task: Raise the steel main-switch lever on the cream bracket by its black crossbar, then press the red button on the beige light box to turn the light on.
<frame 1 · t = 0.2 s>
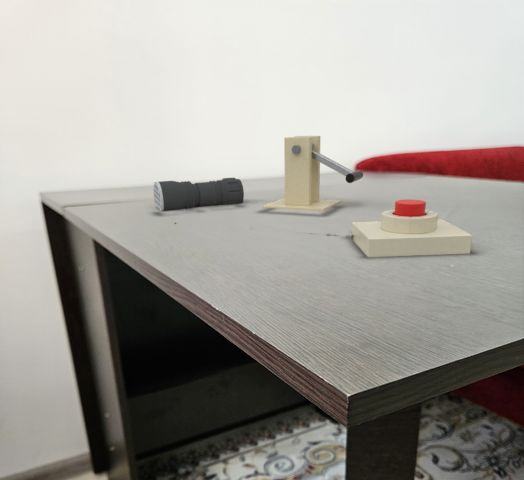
light box: (406, 245, 65), on the table
flashlight: (199, 211, 93), on the table
light button: (409, 209, 63), point 5 cm above the table, slide at 0.1 cm
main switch: (326, 161, 85), point 8 cm above the table, hinge at -25.0°
switch bracket: (302, 210, 90), on the table
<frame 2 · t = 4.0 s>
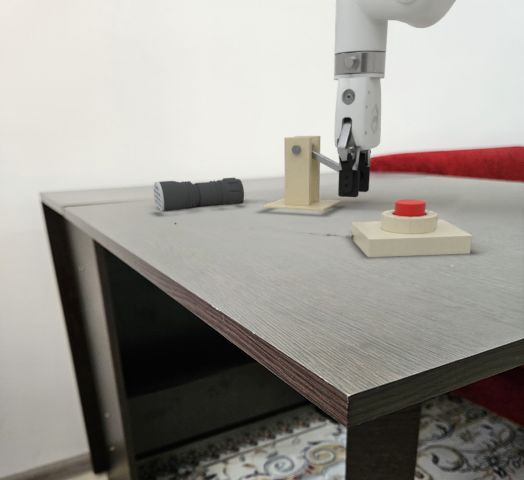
hand: (353, 192, 85), 3 cm above the table, tool pointing down, fingers closed on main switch, 5 cm apart
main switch: (326, 161, 85), point 8 cm above the table, hinge at -25.0°, touching gripper
everything else where it was.
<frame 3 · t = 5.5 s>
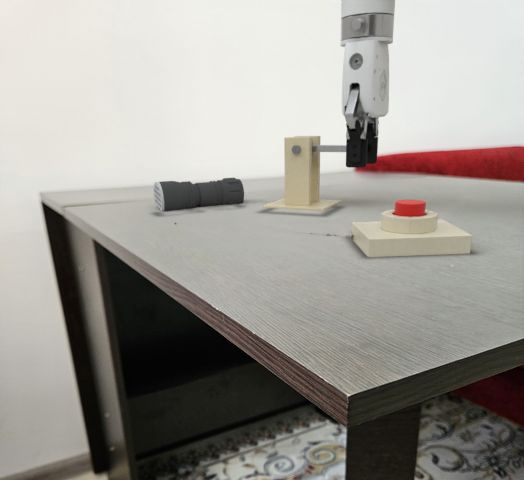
hand: (361, 164, 83), 8 cm above the table, tool pointing down, fingers closed on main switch, 5 cm apart
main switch: (329, 148, 84), point 10 cm above the table, hinge at -0.1°, touching gripper
everything else where it was.
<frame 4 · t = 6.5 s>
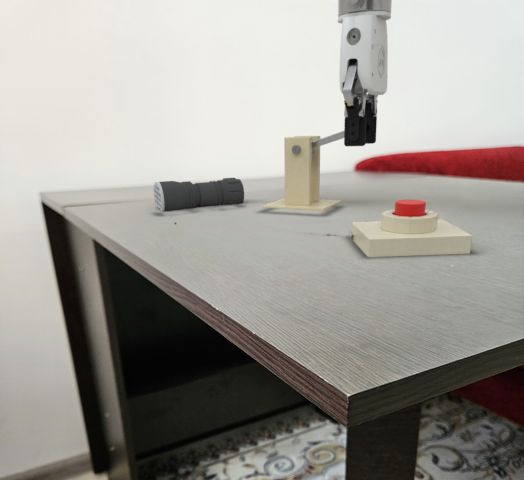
hand: (360, 143, 82), 11 cm above the table, tool pointing down, fingers closed on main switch, 5 cm apart
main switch: (328, 139, 84), point 11 cm above the table, hinge at 16.6°, touching gripper
everything else where it was.
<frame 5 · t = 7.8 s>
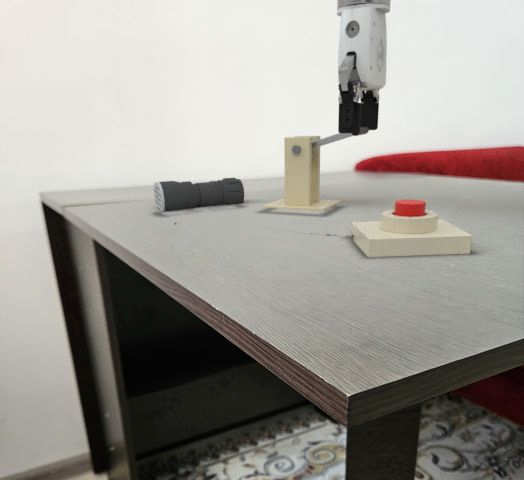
hand: (358, 131, 81), 13 cm above the table, tool pointing down, fingers open, 9 cm apart
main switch: (328, 140, 84), point 11 cm above the table, hinge at 15.7°
everything else where it was.
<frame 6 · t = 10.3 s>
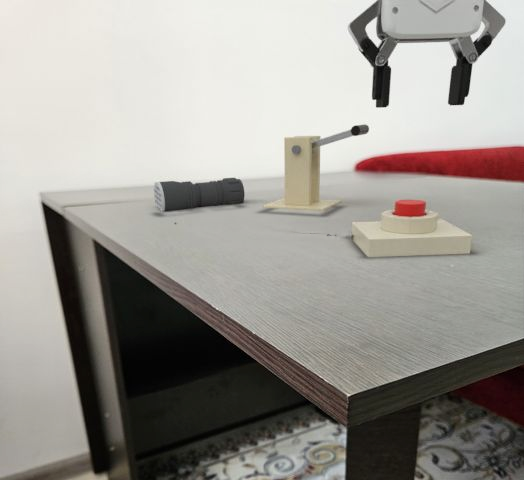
hand: (418, 105, 59), 16 cm above the table, tool pointing down, fingers open, 7 cm apart
nothing on the table moved.
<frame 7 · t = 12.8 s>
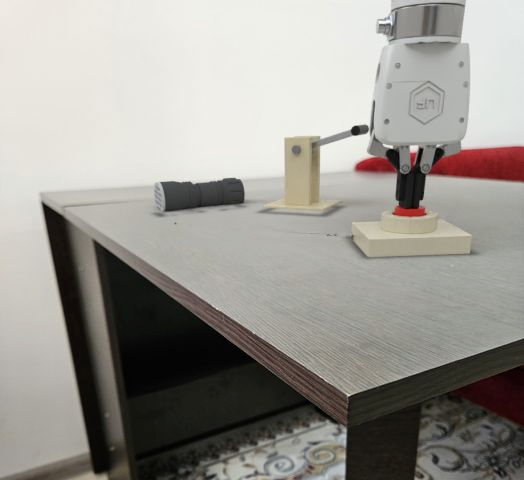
hand: (408, 206, 63), 5 cm above the table, tool pointing down, fingers closed
light button: (409, 214, 64), point 4 cm above the table, slide at -0.5 cm, touching gripper
everything else where it was.
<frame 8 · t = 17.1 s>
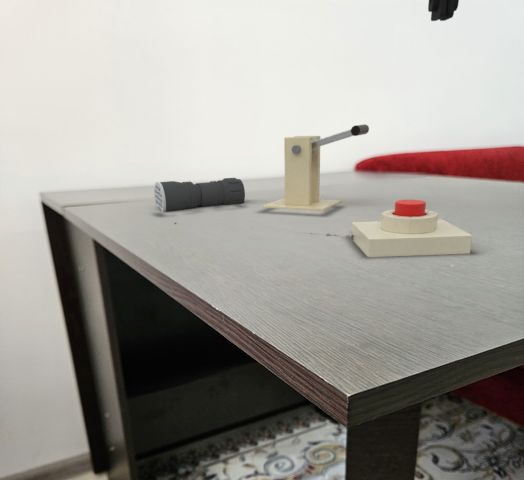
hand: (441, 18, 61), 25 cm above the table, tool pointing down, fingers closed
light button: (409, 209, 63), point 5 cm above the table, slide at 0.1 cm
everything else where it was.
at the end: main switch at +16° (first picture: -25°); light button pushed in 1.1 cm at the most during the clip, back to where it started at the end; light button slide at 0.1 cm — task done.
